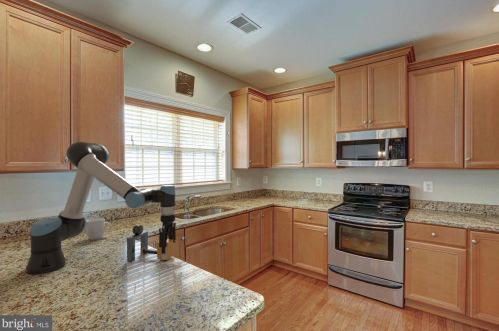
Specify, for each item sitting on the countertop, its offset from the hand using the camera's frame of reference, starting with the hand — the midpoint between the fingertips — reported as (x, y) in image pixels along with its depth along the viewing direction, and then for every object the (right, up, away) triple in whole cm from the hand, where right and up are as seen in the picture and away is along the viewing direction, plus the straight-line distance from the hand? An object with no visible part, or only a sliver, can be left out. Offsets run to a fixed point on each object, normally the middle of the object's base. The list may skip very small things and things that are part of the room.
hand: (167, 256), depth 132 cm
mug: (-60, -1, +36) cm, 71 cm away
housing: (-18, -1, +3) cm, 18 cm away
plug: (-7, 0, +1) cm, 7 cm away
